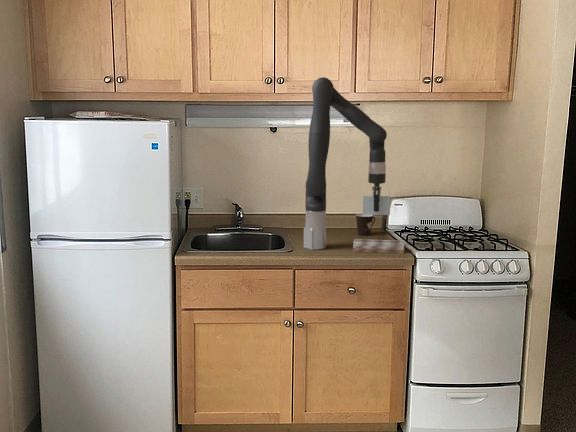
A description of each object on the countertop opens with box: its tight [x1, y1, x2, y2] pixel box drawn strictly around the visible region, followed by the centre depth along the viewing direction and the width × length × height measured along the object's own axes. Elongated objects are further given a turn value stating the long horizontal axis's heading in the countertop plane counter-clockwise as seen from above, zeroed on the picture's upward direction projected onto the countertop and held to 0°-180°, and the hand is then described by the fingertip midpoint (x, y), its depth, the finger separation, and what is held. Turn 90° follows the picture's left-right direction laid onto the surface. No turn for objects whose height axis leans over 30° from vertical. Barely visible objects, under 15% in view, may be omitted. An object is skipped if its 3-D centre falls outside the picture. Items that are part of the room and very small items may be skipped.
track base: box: [352, 238, 405, 254], centre depth 255 cm, size 22×9×4 cm, turn 80°
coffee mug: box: [355, 213, 376, 237], centre depth 290 cm, size 12×9×10 cm
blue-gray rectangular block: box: [362, 195, 391, 216], centre depth 258 cm, size 12×4×8 cm, turn 82°
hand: (376, 210), depth 258 cm, fingers closed on blue-gray rectangular block, 3 cm apart
